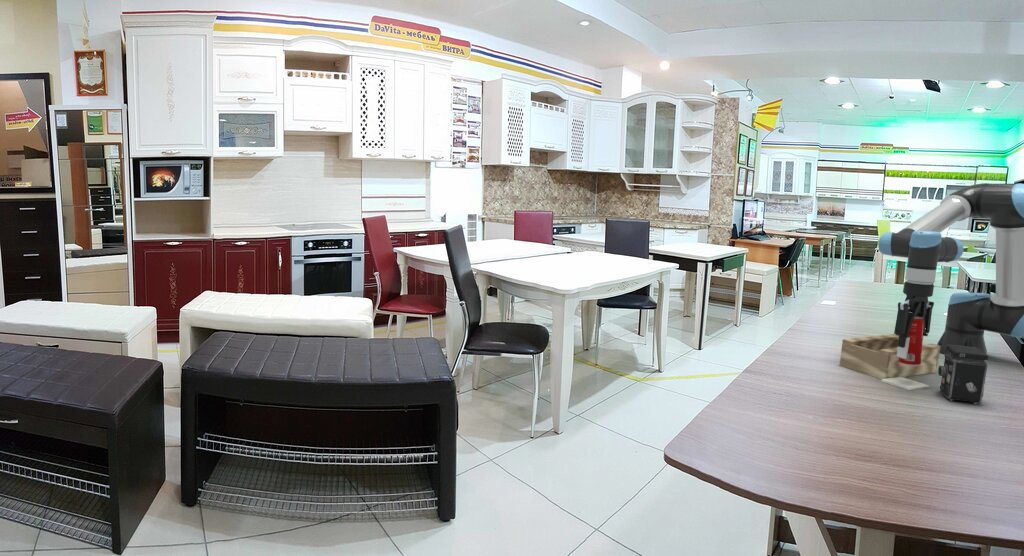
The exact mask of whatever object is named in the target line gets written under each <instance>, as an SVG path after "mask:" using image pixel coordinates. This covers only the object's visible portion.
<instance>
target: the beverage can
mask: <svg viewBox="0 0 1024 556" xmlns="http://www.w3.org/2000/svg"><path fill="white" fill-rule="evenodd" d="M923 325H924V321H923V318H922V317H919V316H918V317H917V316H915V317H914V320H913V322H912V326H911V329H910V332H909V335H908V337H909V338H910V340H909V347H908V354H907V359H904V358H901V357H899V363H901V364H903V365H909V366H919V365H920V364H921V354H922V344H923V343H922V339H923V340H924V336H923Z"/></svg>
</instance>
